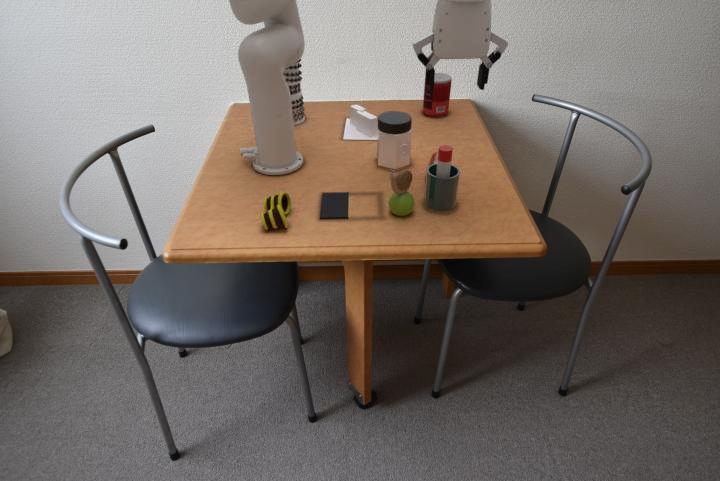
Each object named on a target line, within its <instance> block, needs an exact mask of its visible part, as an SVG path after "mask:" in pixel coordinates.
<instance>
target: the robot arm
mask: <svg viewBox="0 0 720 481" xmlns="http://www.w3.org/2000/svg"><path fill="white" fill-rule="evenodd" d="M436 1H437V2H436V5H435V9H434V16H433V21H432V28H431V32H429V33H428V34H426V35H424V36H423V37H421V38H419V39H417V40H415V41H413V42H412V48H413V51H414V53H415V56H416V57H417V59H418V61H419V62H420V63H421V64H422V65H423V67H425V74H424V75H425V76H424V86H425V85H428V88H429V91H433V90H434V78H435V73H436V70H435V66H436V64H437V63H438V62H439V61H440V60H474V59H480V61H481V63H480V64H479V65H478V73H477V78H476V79H477V80H476V86H477V87H478V89H479V90H481V91H484V90H485V87H486V85H487V84H488V82H489V76H490V69H491V68H492V67H493V65H494V64H495V63H496V62H498V60H500V59H501V57H502V55H503V54H504V52H505V50H506V49H507V48H508V46H509V42H508V41H507V40H505V39H504V38H502V37H501V36H499V35H497V34H496V33H494V32H492V0H436ZM228 2H229V6H230V9H231V11H232V13H233V14H232V15H234V17H235V19H236V20H237V21H239V23H242V24H243V25H247V26H248V25H249V26H250V25H257V24H260V23H263V25H264V27H262V28H260V29H257V30H255V31H253V32H251V33H249V34H247V36H245V37H244V38H243V40H242V41H241V43H240V44H239V47H238V51H237V58H238V63H239V67H240V69H241V72H242V75H243V78H244V81H245V85H246V89H247V95H248V100H249V107H250V112H251V119H252V124H253V132H254V139H255V145H256V146H252V147H240V149H239V152H240V156H242V158H243V160H250V159H251V160H252V167H253V168H254V170H255V171H256V172H258V173H260V174H263V175H267V176H281V175H288V174H291V173H293V172H296V171H297V170H299V169H300V168H301V167H302V166H303V165H304V156H303V155H302V153H300V152H299V151H297V146H296V145H297V144H296V135H295V125H294V124H293V114H292V104H291V95H290V90H289V87H288V84H287V82H286V80H285V78H284V75H283V70H285V69H286V68H288V67H290V66H291V65H293V64H295V63H296V62H297V61H299V60H300V59H301V58H302V57H303V55H304V53H305V47H306V46H305V36H304V31H303V26H302V21H301V17H300V12H299V8H298V4H297V0H228ZM491 43H493V44H495V45H496V48H495V49H494V50H493V51H492V52H491V53H490V54H489V51H490V44H491ZM429 44H430V51H431V53H429V55H428V56H426V54H425V53H424V52H423V48H424V47H426V46H428V45H429ZM488 54H489V55H488Z"/></svg>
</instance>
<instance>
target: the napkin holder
mask: <svg viewBox="0 0 720 481" xmlns="http://www.w3.org/2000/svg"><path fill="white" fill-rule="evenodd" d="M377 125H378V116H376V115H374V114H372V113H370V112H368V111H367V109H366V108H365V107H364V106H361V105H359V104H356V103H355V104H352V105H349V117H347V118H346V120H345V125H344V131H343V137H342V140H352V141H353V140H354V141H355V140H359V141H360V140H361V141H377Z"/></svg>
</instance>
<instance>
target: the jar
mask: <svg viewBox="0 0 720 481" xmlns="http://www.w3.org/2000/svg"><path fill="white" fill-rule="evenodd" d="M377 117H378V125H377V140H376V161H377V165H378V166H379V167H384V168H388V169H392V170H397V169H400V168H403V167H406V166H409V165H410V164H411V163H410V162H411V151H412V150H411V149H412V148H411V147H412V126H413V125H412V123H413V121H412V116H411V114H409V113H407V112H404V111H400V110H399V111H398V110H389V111H384V112H382V113H380V114H379V115H378V116H377Z"/></svg>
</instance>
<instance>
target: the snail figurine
mask: <svg viewBox="0 0 720 481" xmlns="http://www.w3.org/2000/svg"><path fill="white" fill-rule="evenodd" d="M389 172H390V173H389V174H390V176H389V180H390V186H391V190H392V192H393V193H392V194H391V195H390V197H389V200H388V208H389V210H390V212H391V213H392V214H394V215H395V216H398V217H406V216H408V215H411V213H412V212H413V210H414V208H415V205H416V202H415V199H414V196H413V195H412V193H411V192H409V189H410V188H411V184H412V181H413V173H412V171H410V169H403V170H400V172H399V173H398V174H397V175H396V173H395V169H392V168H389Z"/></svg>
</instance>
